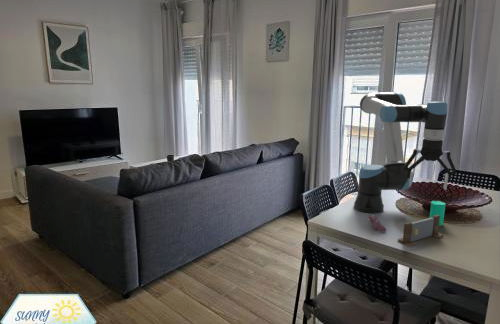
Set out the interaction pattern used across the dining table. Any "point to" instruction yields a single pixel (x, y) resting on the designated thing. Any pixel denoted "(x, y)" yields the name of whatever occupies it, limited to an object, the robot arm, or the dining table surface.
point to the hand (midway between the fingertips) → (427, 187)
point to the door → (422, 229)
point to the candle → (438, 210)
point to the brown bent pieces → (407, 232)
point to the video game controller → (376, 223)
